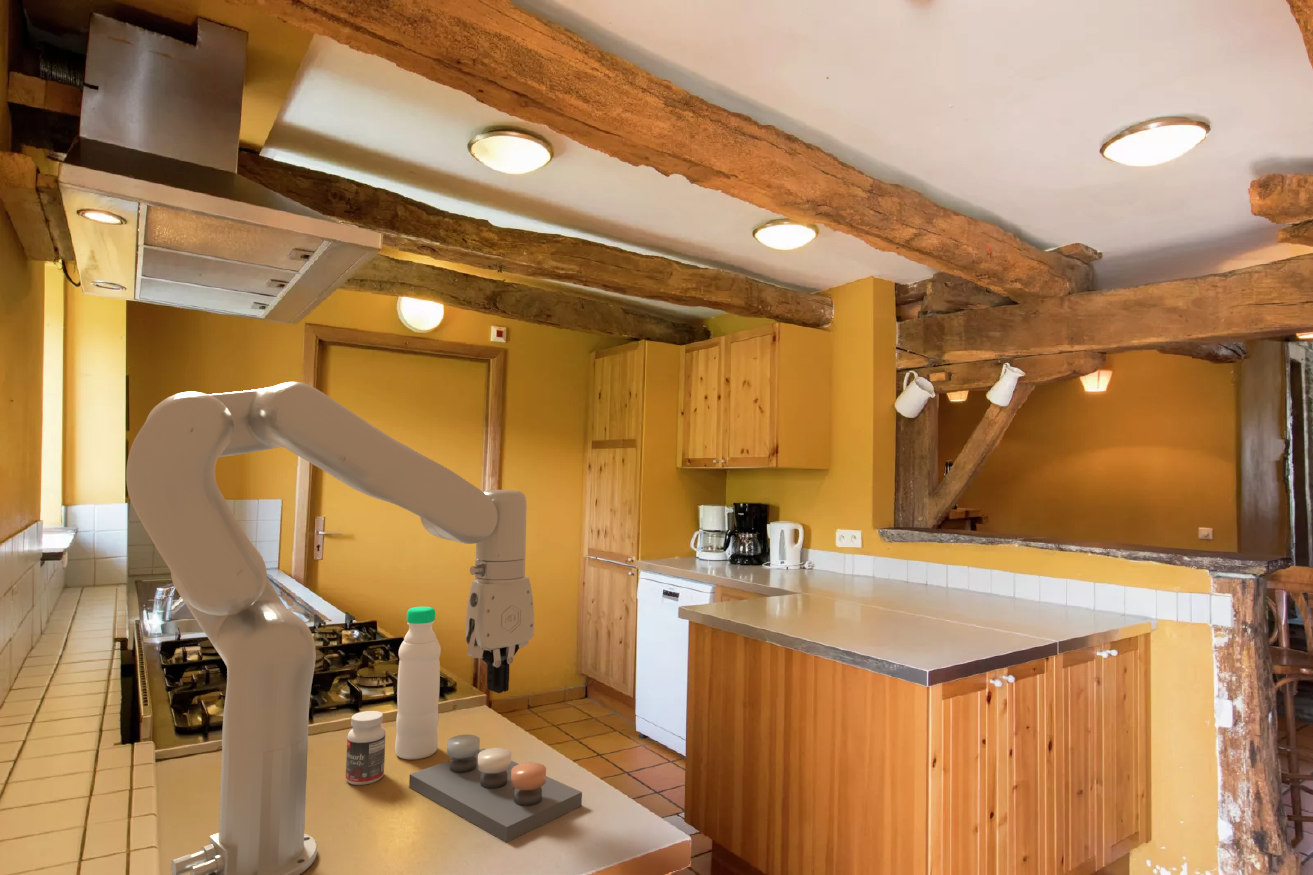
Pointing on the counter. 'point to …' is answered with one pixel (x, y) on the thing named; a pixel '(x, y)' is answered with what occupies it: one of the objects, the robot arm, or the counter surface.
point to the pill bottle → (365, 748)
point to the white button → (494, 760)
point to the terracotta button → (528, 776)
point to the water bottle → (418, 687)
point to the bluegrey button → (463, 746)
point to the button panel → (493, 797)
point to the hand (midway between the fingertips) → (497, 690)
